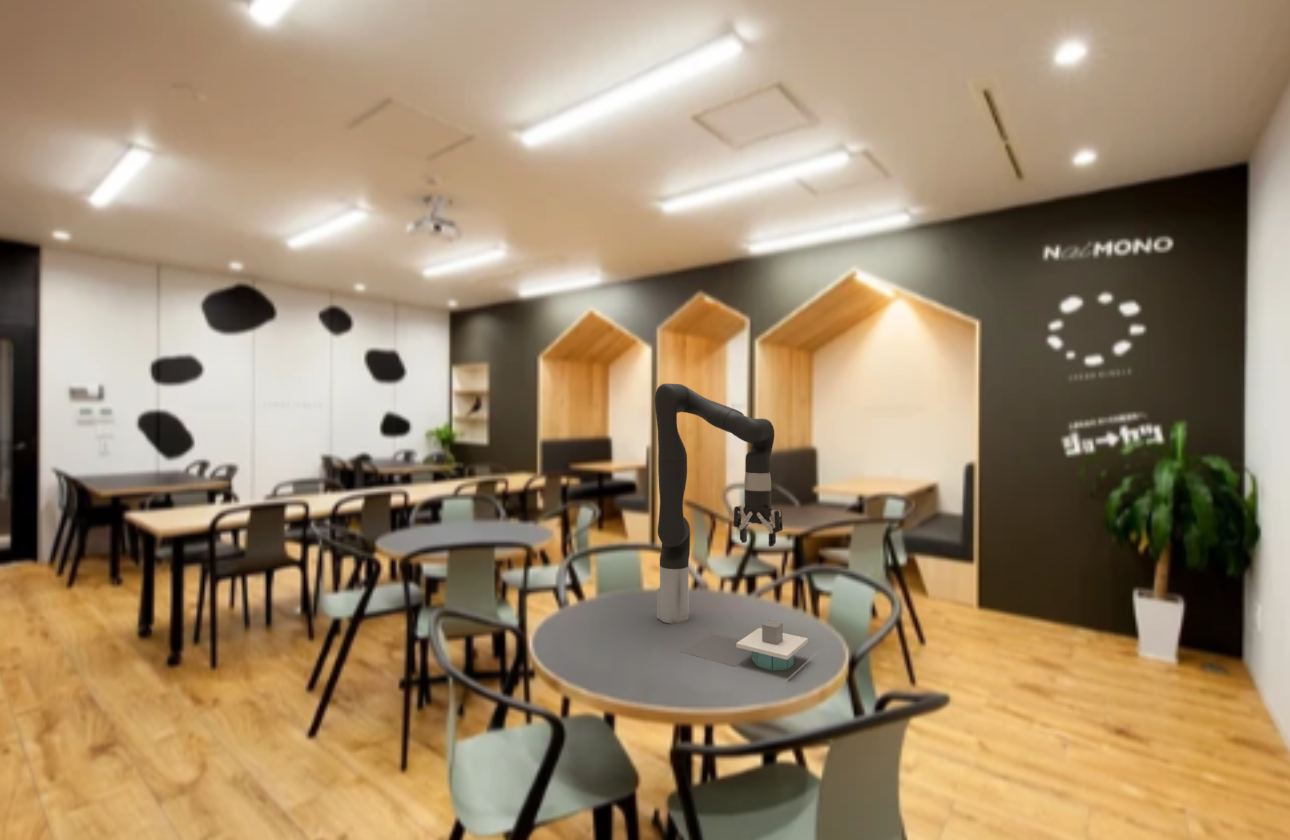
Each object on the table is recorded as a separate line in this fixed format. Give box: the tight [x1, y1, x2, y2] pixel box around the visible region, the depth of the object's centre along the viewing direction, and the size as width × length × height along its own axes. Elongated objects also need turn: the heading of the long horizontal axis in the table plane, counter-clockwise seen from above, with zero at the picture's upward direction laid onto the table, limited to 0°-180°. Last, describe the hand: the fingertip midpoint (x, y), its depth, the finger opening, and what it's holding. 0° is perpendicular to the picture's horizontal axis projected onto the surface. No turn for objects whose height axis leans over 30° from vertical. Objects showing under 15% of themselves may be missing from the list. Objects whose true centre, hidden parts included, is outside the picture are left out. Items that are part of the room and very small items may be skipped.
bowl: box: [751, 651, 795, 671], centre depth 160 cm, size 10×10×5 cm
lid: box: [736, 619, 809, 660], centre depth 160 cm, size 14×14×6 cm
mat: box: [679, 633, 752, 668], centre depth 169 cm, size 17×17×1 cm
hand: (757, 544), depth 175 cm, fingers open, 8 cm apart
